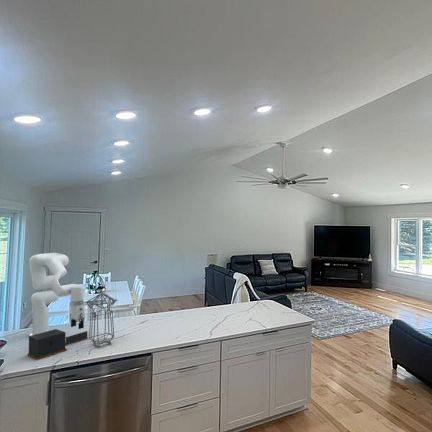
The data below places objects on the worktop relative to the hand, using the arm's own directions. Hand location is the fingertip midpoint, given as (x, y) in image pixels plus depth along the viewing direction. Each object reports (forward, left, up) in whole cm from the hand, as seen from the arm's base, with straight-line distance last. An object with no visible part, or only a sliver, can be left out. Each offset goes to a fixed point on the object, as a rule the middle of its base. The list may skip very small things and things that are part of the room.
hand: (77, 327), depth 231 cm
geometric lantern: (+20, +6, -10) cm, 23 cm away
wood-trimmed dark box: (+4, -20, -10) cm, 23 cm away
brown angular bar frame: (-6, 0, -10) cm, 12 cm away
